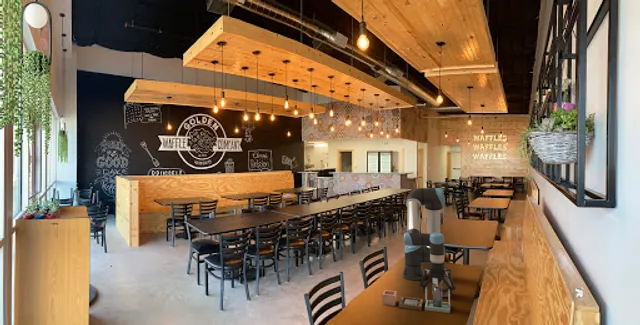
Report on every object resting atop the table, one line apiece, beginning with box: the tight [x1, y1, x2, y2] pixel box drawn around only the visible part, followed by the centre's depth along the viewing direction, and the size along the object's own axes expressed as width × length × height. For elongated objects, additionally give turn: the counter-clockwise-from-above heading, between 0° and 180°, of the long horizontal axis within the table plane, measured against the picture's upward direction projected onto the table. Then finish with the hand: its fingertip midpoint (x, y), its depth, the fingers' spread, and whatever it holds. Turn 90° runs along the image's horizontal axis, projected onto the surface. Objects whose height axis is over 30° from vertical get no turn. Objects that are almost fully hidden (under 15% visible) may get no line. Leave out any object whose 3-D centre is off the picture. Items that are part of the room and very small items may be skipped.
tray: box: [424, 299, 451, 314], centre depth 207 cm, size 10×13×2 cm
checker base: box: [398, 296, 424, 311], centre depth 212 cm, size 12×12×2 cm
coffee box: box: [432, 266, 452, 298], centre depth 226 cm, size 9×6×16 cm
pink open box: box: [381, 289, 398, 307], centre depth 215 cm, size 7×7×6 cm
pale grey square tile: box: [404, 299, 418, 305], centre depth 212 cm, size 7×7×1 cm
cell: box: [432, 285, 443, 308], centre depth 207 cm, size 5×5×12 cm
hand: (437, 300), depth 207 cm, fingers open, 11 cm apart
